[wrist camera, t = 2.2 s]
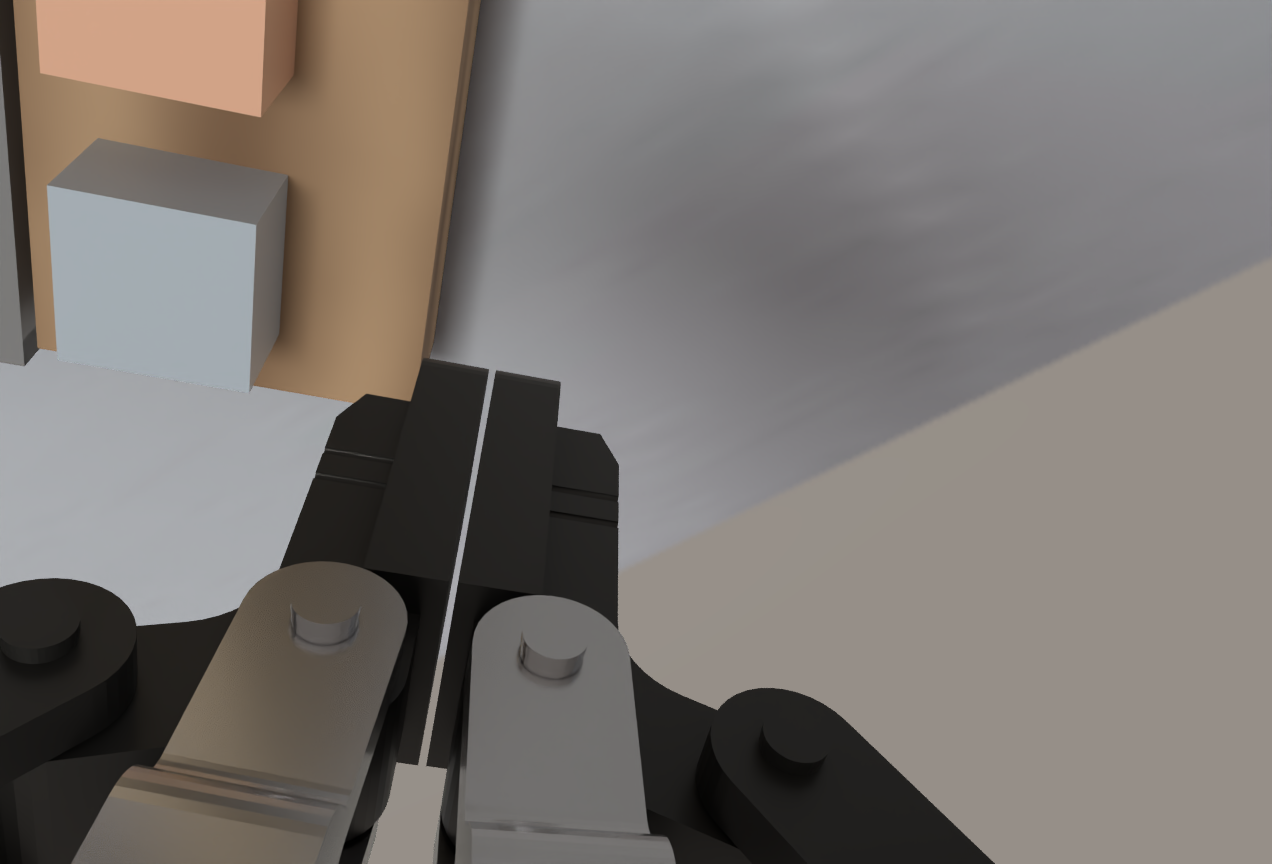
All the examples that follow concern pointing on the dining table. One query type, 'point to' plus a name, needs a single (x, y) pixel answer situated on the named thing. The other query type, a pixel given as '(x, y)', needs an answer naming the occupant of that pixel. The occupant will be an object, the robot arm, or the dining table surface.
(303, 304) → the board
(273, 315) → the pale blue-gray cube
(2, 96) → the tray
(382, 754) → the robot arm
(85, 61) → the cube terracotta
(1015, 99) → the dining table surface
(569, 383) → the dining table surface
